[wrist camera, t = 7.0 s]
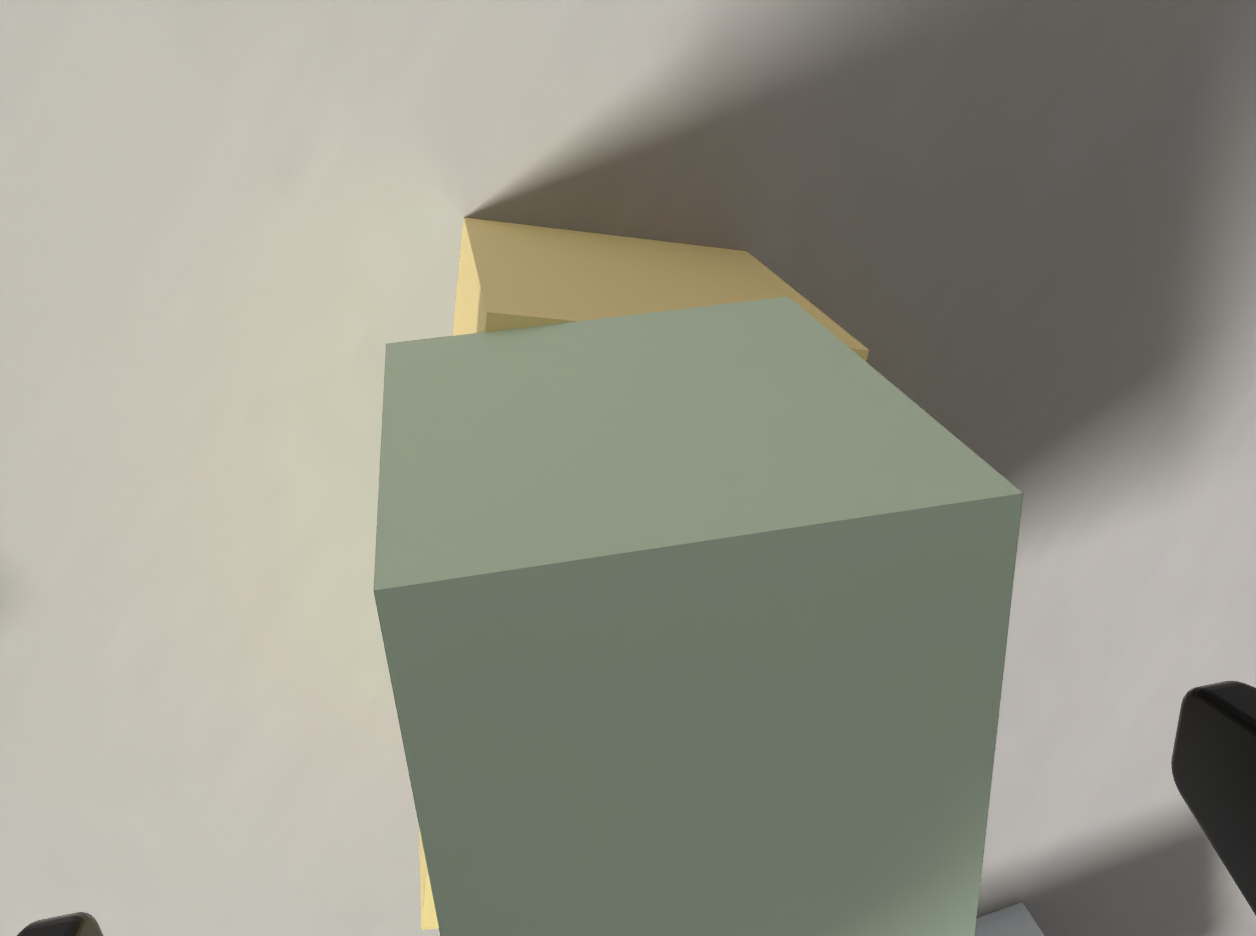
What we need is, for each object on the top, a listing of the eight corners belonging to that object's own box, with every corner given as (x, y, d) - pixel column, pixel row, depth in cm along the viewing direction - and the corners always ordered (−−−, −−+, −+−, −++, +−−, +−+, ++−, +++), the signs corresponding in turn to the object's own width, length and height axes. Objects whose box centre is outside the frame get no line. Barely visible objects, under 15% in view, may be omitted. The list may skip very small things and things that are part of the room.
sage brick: (786, 879, 12) (940, 1245, 9) (486, 939, 12) (520, 1352, 8) (789, 296, 9) (1023, 493, 6) (386, 343, 9) (373, 590, 5)
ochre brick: (653, 708, 16) (724, 918, 12) (417, 705, 15) (420, 929, 12) (744, 249, 13) (869, 350, 10) (463, 215, 12) (487, 311, 9)
